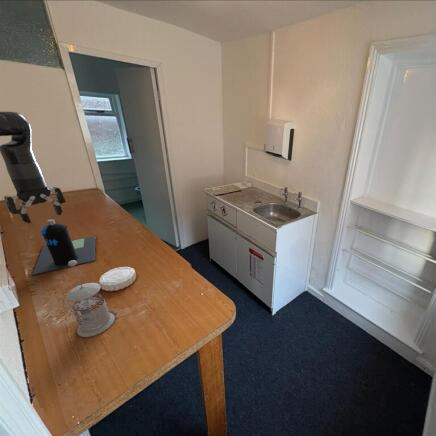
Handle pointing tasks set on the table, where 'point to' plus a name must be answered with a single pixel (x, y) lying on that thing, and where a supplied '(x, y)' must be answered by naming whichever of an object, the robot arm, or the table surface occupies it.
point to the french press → (86, 300)
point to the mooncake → (117, 278)
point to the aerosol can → (59, 243)
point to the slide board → (46, 264)
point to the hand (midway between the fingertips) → (44, 218)
